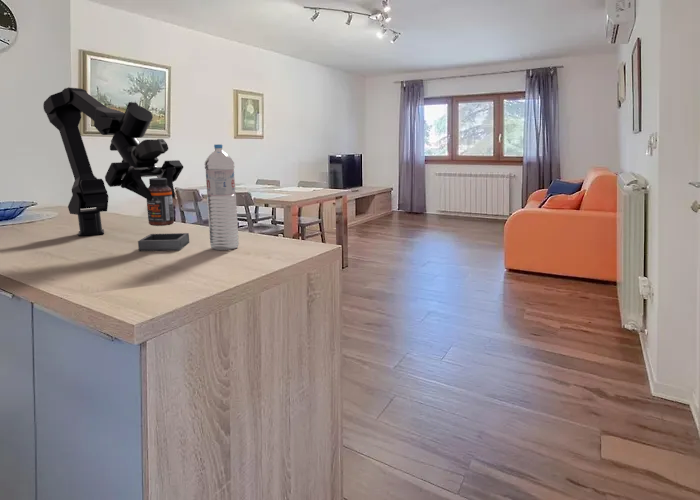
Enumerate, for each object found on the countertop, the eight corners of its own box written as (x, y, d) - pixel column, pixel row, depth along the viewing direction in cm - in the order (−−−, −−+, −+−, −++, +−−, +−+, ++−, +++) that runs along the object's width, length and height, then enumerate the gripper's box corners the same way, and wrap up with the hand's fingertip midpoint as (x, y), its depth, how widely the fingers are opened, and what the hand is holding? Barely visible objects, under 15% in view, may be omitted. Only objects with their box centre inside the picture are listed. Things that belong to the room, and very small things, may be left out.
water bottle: (231, 251, 115) (225, 144, 110) (205, 250, 117) (197, 144, 111) (243, 245, 122) (237, 144, 116) (218, 244, 123) (211, 144, 118)
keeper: (138, 251, 116) (137, 241, 116) (151, 243, 125) (150, 233, 125) (179, 250, 117) (178, 240, 116) (189, 242, 126) (188, 233, 126)
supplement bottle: (143, 226, 117) (139, 179, 115) (156, 222, 123) (153, 177, 121) (166, 226, 116) (162, 179, 114) (178, 222, 122) (175, 177, 120)
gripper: (106, 126, 109) (139, 177, 106) (176, 128, 124) (207, 173, 121) (91, 161, 115) (122, 210, 112) (159, 158, 130) (189, 202, 127)
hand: (162, 198), depth 118 cm, fingers closed on supplement bottle, 6 cm apart
